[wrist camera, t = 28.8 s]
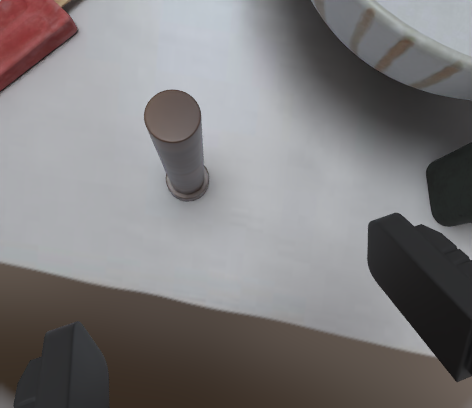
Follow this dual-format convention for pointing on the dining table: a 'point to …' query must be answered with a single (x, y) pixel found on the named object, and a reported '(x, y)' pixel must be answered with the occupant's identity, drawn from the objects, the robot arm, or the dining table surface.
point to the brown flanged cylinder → (178, 142)
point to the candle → (451, 187)
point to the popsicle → (30, 34)
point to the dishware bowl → (409, 40)
